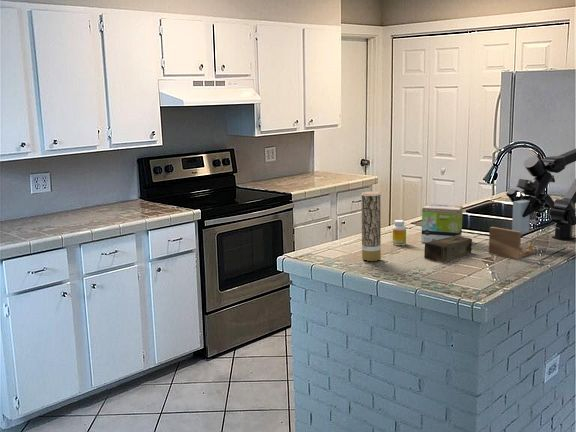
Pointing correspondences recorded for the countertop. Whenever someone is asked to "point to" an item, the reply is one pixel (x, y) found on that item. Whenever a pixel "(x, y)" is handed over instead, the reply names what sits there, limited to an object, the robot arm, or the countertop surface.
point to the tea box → (441, 221)
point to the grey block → (520, 217)
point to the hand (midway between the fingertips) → (518, 215)
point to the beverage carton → (447, 248)
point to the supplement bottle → (399, 233)
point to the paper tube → (371, 226)
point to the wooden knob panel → (507, 243)
